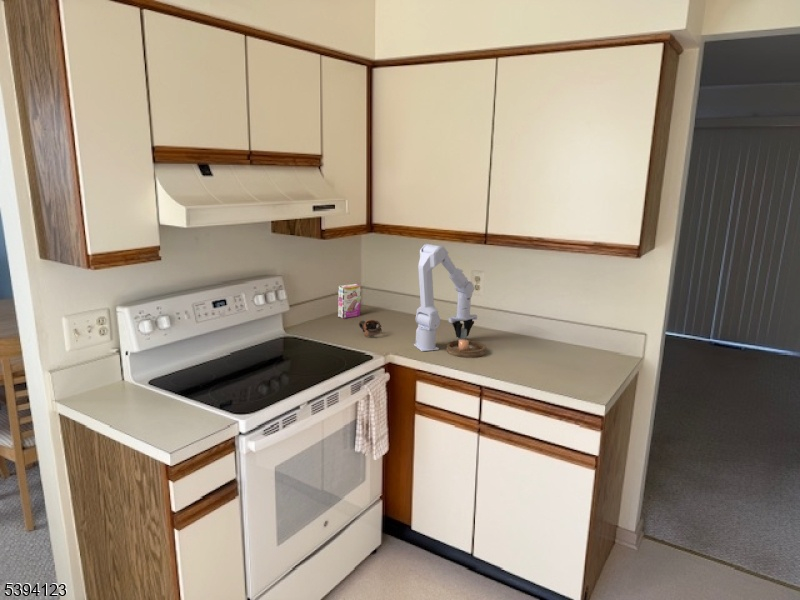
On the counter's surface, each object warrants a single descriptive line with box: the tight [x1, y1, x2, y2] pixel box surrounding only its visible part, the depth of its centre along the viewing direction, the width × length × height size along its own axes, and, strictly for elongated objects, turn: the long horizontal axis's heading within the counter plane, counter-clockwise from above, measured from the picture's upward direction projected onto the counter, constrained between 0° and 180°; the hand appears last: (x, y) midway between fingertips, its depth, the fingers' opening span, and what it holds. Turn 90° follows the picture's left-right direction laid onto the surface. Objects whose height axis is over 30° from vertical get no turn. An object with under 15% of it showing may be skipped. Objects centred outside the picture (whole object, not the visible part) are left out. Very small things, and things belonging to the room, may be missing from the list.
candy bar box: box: [337, 283, 362, 320], centre depth 279 cm, size 11×5×16 cm, turn 130°
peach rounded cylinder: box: [458, 339, 469, 351], centre depth 225 cm, size 4×4×5 cm
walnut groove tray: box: [446, 339, 486, 359], centre depth 229 cm, size 16×16×2 cm
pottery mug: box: [358, 319, 383, 338], centre depth 250 cm, size 12×10×8 cm
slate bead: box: [457, 327, 468, 340], centre depth 245 cm, size 4×4×5 cm
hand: (462, 336), depth 245 cm, fingers closed on slate bead, 4 cm apart
